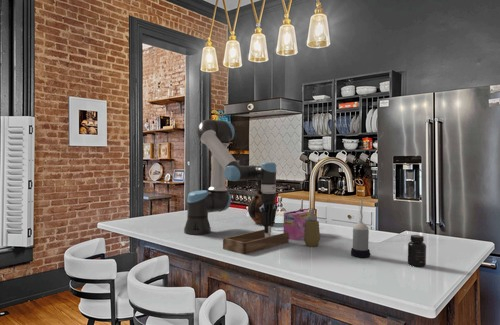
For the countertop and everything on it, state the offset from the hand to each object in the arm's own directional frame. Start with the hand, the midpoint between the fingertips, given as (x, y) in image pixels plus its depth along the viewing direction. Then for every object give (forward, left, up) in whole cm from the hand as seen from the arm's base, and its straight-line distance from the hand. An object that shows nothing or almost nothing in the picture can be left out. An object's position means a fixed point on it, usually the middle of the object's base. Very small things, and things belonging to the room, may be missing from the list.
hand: (267, 239), depth 186 cm
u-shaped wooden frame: (0, -9, -2) cm, 9 cm away
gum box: (+2, +26, -2) cm, 27 cm away
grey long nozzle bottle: (+45, +10, -2) cm, 46 cm away
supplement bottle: (+68, +13, -2) cm, 69 cm away
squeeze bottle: (+19, +11, -2) cm, 22 cm away
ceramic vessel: (-38, +40, -2) cm, 55 cm away
